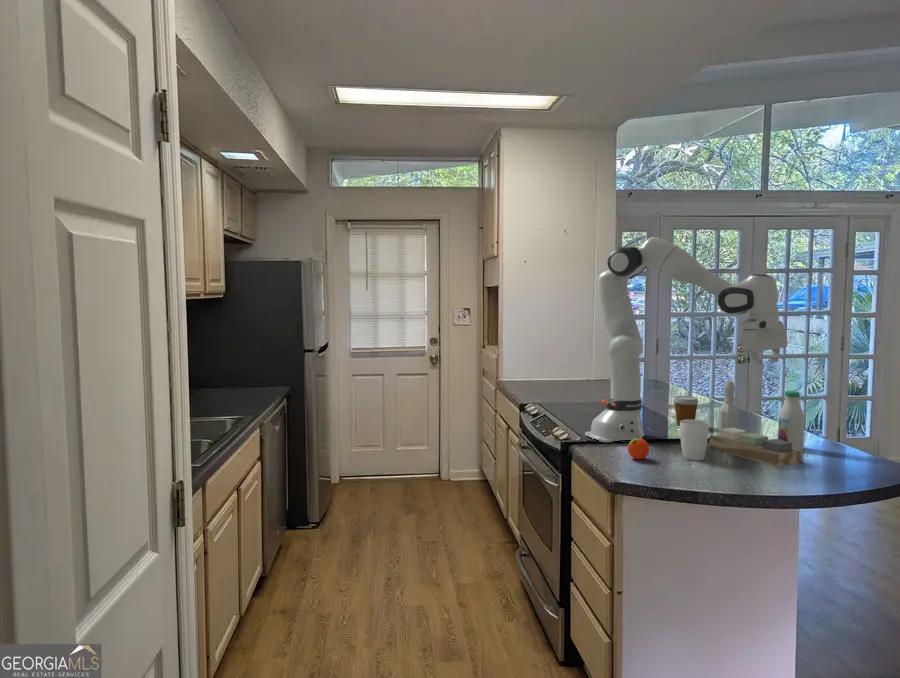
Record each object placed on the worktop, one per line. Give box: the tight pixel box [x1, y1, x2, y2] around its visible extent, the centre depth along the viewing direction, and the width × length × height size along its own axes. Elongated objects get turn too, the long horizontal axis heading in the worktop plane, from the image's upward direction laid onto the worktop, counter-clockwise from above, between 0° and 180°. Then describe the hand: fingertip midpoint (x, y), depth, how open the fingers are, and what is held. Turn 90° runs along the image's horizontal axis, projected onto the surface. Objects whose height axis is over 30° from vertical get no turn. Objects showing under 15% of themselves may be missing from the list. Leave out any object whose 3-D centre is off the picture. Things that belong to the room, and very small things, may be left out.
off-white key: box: [719, 428, 748, 440], centre depth 215 cm, size 6×6×4 cm
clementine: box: [627, 438, 650, 460], centre depth 203 cm, size 8×7×7 cm
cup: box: [679, 419, 710, 461], centre depth 204 cm, size 9×9×12 cm
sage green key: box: [740, 432, 769, 446], centre depth 207 cm, size 6×6×4 cm
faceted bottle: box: [717, 380, 740, 431], centre depth 225 cm, size 6×6×22 cm
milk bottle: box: [777, 390, 805, 451], centre depth 214 cm, size 8×8×20 cm
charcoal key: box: [762, 438, 792, 453], centre depth 198 cm, size 6×6×4 cm
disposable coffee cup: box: [672, 395, 699, 427], centre depth 249 cm, size 10×10×12 cm
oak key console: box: [709, 434, 804, 468], centre depth 207 cm, size 12×27×4 cm, turn 21°
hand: (766, 363), depth 206 cm, fingers open, 8 cm apart
